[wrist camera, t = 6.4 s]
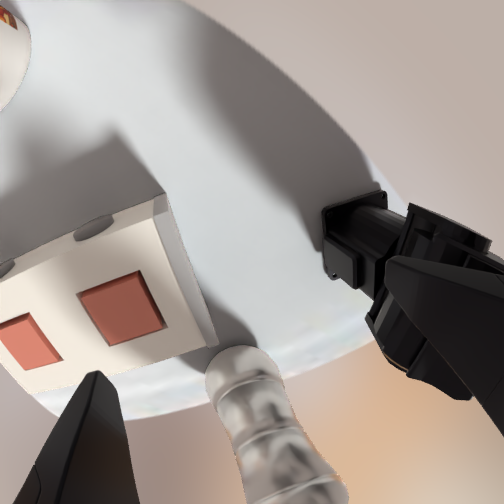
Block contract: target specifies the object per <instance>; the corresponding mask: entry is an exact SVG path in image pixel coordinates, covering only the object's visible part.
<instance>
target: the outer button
mask: <svg viewBox="0 0 504 504" xmlns="http://www.w3.org/2000/svg"><path fill="white" fill-rule="evenodd" d="M0 340H1V342H2V343H3V344H4V346H5V347H6V348H7V350H8V351H9V352H10V353H11V355H12V356H13V357H14V358H15V360H16V361H17V362H18V363H19V364H20V366H21V367H22V368H23V369H24V370H27V369H31V368H35V367H39V366H42V365H46V364H50V363H53V362H57V361H58V359H59V355H60V354H59V353H58V352H57V350H56V349H55V348H54V347H53V345H52V344H51V343H50V341H49V340H48V339H47V337H46V336H45V334H44V333H43V332H42V330H41V329H40V327H39V326H38V324H37V323H36V322H35V320H34V319H33V317H32V315H31V314H30V312H27V313H25V314H22V315H20V316H17V317H15V318H12V319H10V320H7V321H5V322H3V323H0Z"/></svg>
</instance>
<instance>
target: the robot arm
mask: <svg viewBox="0 0 504 504" xmlns="http://www.w3.org/2000/svg"><path fill="white" fill-rule="evenodd" d="M381 196H382V197H381ZM407 210H408V213H407V217H404V216H402V215H399V214H397V213H395V212H393V211H391V210H388V201H387V193H386V192H385V191H383V190H378V191H375V192H372V193H369V194H365V195H362V196H359V197H356V198H353V199H350V200H347V201H343V202H340V203H337V204H334V205H331V206H328V207H326V208H324V209H323V211H322V222H323V231H324V236H323V246H324V257H325V265H326V266H327V273H328V277H329V278H330V279H331V280H336V279H339V278H341V279H342V280H343V281H345V282H346V283H347V284H348V285H349V286H350V287H351V288H353V289H355V290H356V289H358V288H359V289H360V290H362V291H363V292H364V293H365V294H366V295H367V296H369V297H370V298H371V299H372V300H373V301H374V302H373V305H372V307H371V309H370V311H369V312H368V313H367V315H366V317H365V321H366V323H367V324H368V326H369V328H370V330H371V332H372V334H373V336H374V338H375V339H376V341H377V343H378V345H379V347H380V349H381V351H382V353H383V354H384V356H385V358H386V359H387V360H388V362H389V363H390V364H392V365H393V366H394V367H396V368H398V369H399V370H401V371H403V372H405V373H406V376H407V377H409V378H412V379H417V380H421V381H423V382H425V383H428V384H430V385H432V386H434V387H436V388H438V389H439V390H441V391H442V392H444V393H445V394H447V395H448V396H450V397H451V398H453V399H456V400H471V399H472V398H473V397H474V396H475V398H476V399H477V400H478V402H479V403H480V404H481V405H482V407H483V409H484V410H485V411H486V413H487V414H488V415H489V417H490V418H491V419H492V421H493V422H494V424H495V425H496V426H497V428H498V429H499V431H500V432H501V434H502V435H503V437H504V260H503V259H502V258H500V257H499V256H497V255H495V254H493V253H491V252H490V251H488V250H489V248H490V246H491V243H492V240H490V239H488V238H486V237H485V236H483V235H481V234H479V233H478V232H476V231H474V230H472V229H470V228H468V227H466V226H464V225H462V224H460V223H458V222H456V221H454V220H452V219H449V218H447V217H445V216H443V215H440V214H438V213H435V212H433V211H430V210H428V209H425V208H423V207H420V206H418V205H415V204H412V203H409V206H408V209H407ZM328 212H330V214H329V216H327V214H328ZM334 273H335V274H334ZM333 274H334V275H333ZM13 504H140V502H139V497H138V493H137V489H136V484H135V479H134V474H133V469H132V464H131V458H130V451H129V445H128V439H127V434H126V430H125V426H124V422H123V417H122V413H121V408H120V403H119V398H118V393H117V390H116V388H115V387H114V386H113V384H112V383H111V382H110V381H109V380H108V379H107V377H106V376H105V375H104V374H103V373H102V372H101V371H100V370H96V371H92V372H89V373H87V374H86V375H85V377H84V378H83V380H82V382H81V383H80V385H79V386H78V388H77V390H76V391H75V393H74V394H73V396H72V398H71V399H70V401H69V403H68V404H67V406H66V408H65V409H64V411H63V413H62V414H61V416H60V418H59V419H58V421H57V423H56V425H55V426H54V428H53V430H52V432H51V434H50V435H49V437H48V439H47V441H46V443H45V444H44V446H43V448H42V450H41V452H40V454H39V455H38V457H37V459H36V461H35V465H33V467H32V469H31V471H30V473H29V475H28V477H27V479H26V481H25V483H24V485H23V487H22V488H21V490H20V492H19V494H18V495H17V497H16V499H15V501H14V502H13Z"/></svg>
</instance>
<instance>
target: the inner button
mask: <svg viewBox="0 0 504 504" xmlns="http://www.w3.org/2000/svg"><path fill="white" fill-rule="evenodd" d="M81 299H82V301H83V303H84V304H85V306H86V308H87V309H88V311H89V313H90V314H91V316H92V317H93V319H94V321H95V322H96V324H97V325H98V327H99V328H100V330H101V331H102V333H103V334H104V336H105V337H106V339H107V340H108V342H109V343H110V345H111V344H115V343H118V342H121V341H124V340H127V339H130V338H133V337H137V336H140V335H143V334H146V333H149V332H152V331H155V330H158V329H161V328H162V318H161V312H160V310H159V308H158V306H157V304H156V302H155V300H154V298H153V296H152V294H151V292H150V290H149V288H148V286H147V284H146V282H145V279H144V277H143V275H142V273H141V271H140V270H138V271H135V272H132V273H129V274H127V275H124V276H121V277H119V278H116V279H113V280H111V281H108V282H105V283H102V284H100V285H97V286H95V287H92V288H89V289H87V290H84V291H83V294H82V297H81Z"/></svg>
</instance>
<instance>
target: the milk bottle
mask: <svg viewBox="0 0 504 504" xmlns="http://www.w3.org/2000/svg"><path fill="white" fill-rule="evenodd" d="M30 55H31V37H30V33H29V30H28V28H27V27H26V25H25V24H24V23H23V22H21V21H20V20H19V19H18V18H17V17H15V16H14V15H13V14H11V13H10V12H9V11H7V10H6V9H5V8H3V7H2V6H0V111H1V110H3V109H4V108H5V106H6V105H7V104H8V103H9V102H10V101H11V99H12V98H13V96H14V95H15V93H16V92H17V90H18V88H19V86H20V85H21V83H22V81H23V79H24V76H25V74H26V71H27V68H28V64H29V61H30Z"/></svg>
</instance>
